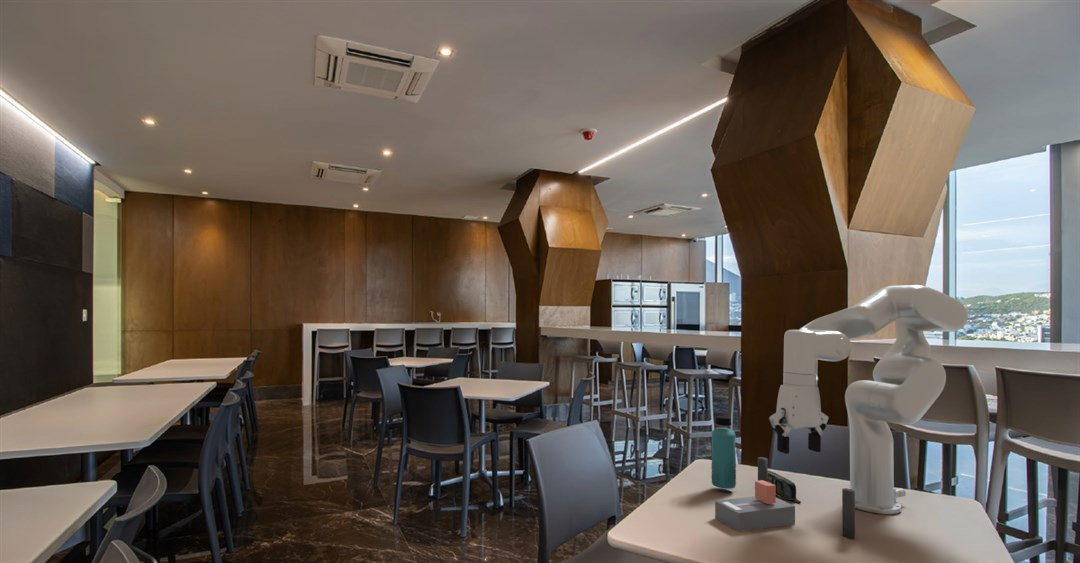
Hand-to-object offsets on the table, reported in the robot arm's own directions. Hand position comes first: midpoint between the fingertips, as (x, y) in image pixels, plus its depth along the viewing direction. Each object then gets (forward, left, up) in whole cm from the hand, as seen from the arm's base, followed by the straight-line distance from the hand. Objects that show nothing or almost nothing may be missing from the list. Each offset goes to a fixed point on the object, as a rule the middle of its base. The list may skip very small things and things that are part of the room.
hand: (798, 451), depth 130 cm
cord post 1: (-1, -13, -15) cm, 20 cm away
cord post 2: (-1, +13, -15) cm, 20 cm away
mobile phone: (-7, -14, -16) cm, 22 cm away
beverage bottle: (+6, -20, -15) cm, 26 cm away
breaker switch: (+10, 0, -11) cm, 15 cm away
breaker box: (+13, 0, -15) cm, 20 cm away
